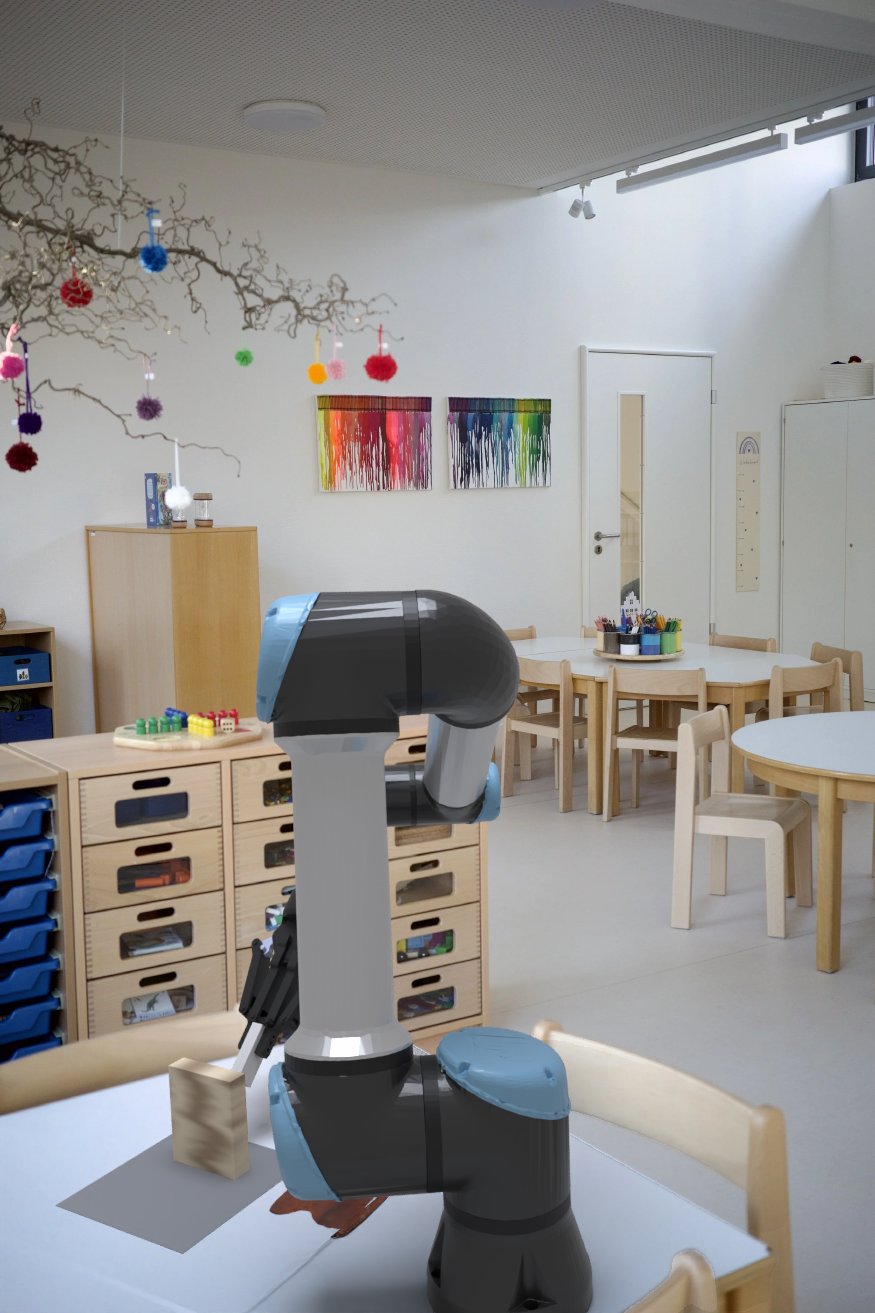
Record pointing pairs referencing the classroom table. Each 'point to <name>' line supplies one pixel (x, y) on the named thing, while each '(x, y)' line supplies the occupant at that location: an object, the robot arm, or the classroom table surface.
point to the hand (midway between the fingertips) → (239, 1081)
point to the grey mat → (172, 1196)
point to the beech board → (209, 1117)
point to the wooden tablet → (329, 1211)
